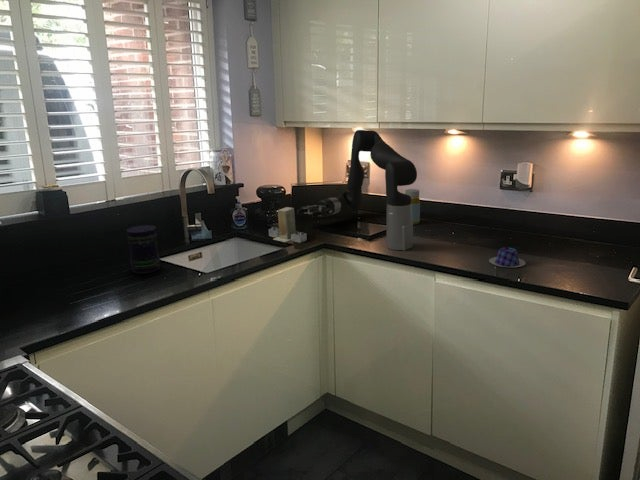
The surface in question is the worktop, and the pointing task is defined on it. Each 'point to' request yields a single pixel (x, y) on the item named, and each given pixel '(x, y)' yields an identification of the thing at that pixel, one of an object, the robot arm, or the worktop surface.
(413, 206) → the bottle
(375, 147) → the robot arm
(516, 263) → the blue plaid hat
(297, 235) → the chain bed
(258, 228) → the worktop surface
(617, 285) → the worktop surface
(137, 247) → the storage jar
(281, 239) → the seat pad
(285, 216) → the skincare box
